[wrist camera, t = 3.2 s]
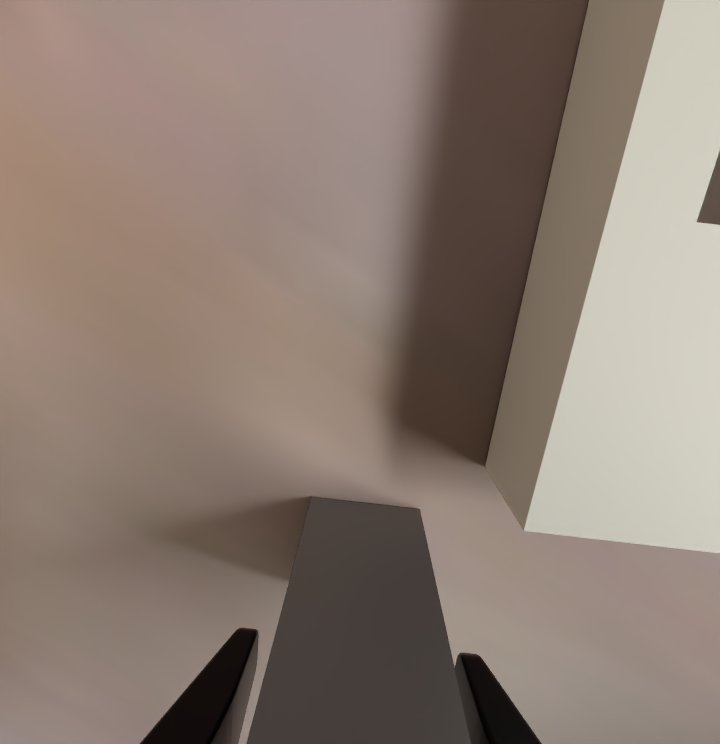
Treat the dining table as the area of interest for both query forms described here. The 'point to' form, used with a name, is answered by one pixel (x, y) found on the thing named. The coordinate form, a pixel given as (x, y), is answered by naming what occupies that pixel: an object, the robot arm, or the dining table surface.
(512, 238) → the dining table surface
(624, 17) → the socket board
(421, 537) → the plug
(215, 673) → the robot arm
